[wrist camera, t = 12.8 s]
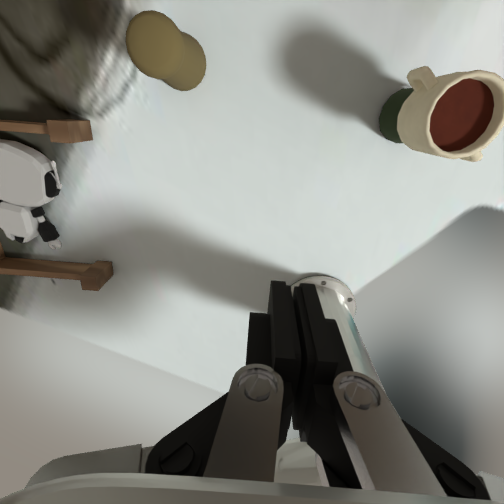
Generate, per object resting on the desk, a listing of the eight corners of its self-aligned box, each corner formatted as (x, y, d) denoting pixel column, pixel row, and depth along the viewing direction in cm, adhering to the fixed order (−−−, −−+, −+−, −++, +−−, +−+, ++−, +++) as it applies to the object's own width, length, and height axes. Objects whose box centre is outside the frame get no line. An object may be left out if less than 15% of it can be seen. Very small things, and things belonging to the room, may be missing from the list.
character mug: (450, 129, 37) (535, 135, 26) (401, 168, 40) (458, 190, 28) (404, 56, 34) (477, 25, 23) (353, 103, 37) (396, 97, 25)
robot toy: (75, 243, 48) (71, 151, 40) (57, 257, 44) (50, 158, 36) (-3, 224, 47) (-21, 126, 39) (-28, 236, 43) (-54, 130, 35)
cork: (149, 39, 35) (103, 9, 25) (198, 26, 34) (170, -11, 24) (166, 96, 37) (130, 89, 27) (211, 84, 36) (192, 73, 26)
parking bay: (113, 274, 49) (98, 290, 44) (-1, 265, 49) (-28, 281, 44) (89, 120, 39) (66, 121, 34) (-54, 109, 39) (-96, 109, 34)
